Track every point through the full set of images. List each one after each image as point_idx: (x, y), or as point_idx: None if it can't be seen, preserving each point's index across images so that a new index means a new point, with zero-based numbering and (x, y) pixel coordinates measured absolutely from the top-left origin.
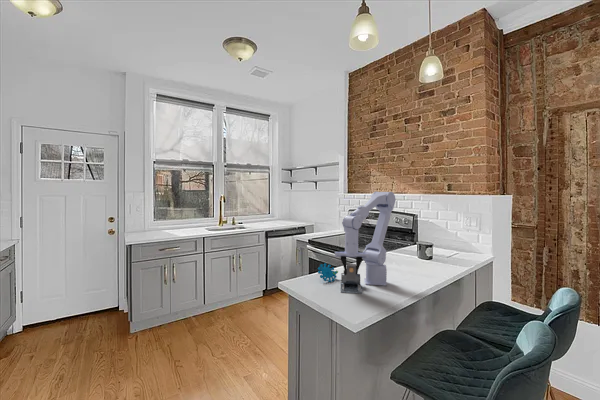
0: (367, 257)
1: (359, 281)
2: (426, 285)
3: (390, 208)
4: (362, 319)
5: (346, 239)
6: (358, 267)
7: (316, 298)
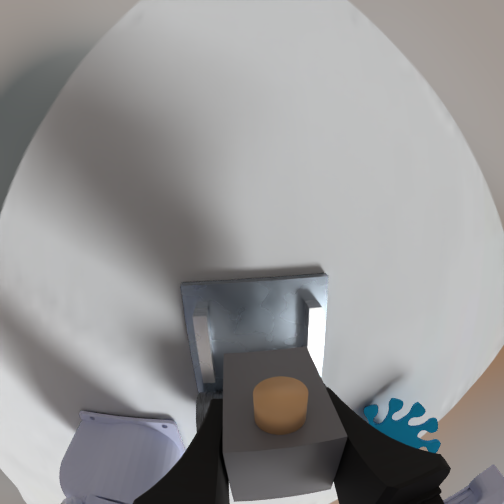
0: None
1: (202, 400)
2: None
3: None
4: None
5: None
6: (193, 447)
7: (441, 151)
